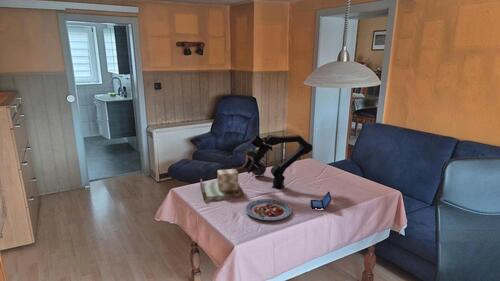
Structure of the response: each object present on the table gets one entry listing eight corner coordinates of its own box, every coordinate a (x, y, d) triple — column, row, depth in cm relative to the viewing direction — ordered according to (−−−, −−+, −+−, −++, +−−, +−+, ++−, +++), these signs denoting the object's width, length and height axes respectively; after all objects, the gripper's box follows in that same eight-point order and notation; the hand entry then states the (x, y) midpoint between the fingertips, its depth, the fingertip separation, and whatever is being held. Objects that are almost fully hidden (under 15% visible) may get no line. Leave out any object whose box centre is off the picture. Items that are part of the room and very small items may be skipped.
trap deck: (237, 183, 220) (237, 176, 219) (244, 197, 200) (244, 188, 198) (200, 186, 214) (200, 179, 213) (203, 200, 194) (203, 192, 192)
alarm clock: (266, 175, 237) (266, 154, 233) (265, 178, 232) (266, 156, 228) (251, 174, 238) (251, 153, 234) (250, 177, 233) (250, 155, 229)
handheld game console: (310, 201, 196) (311, 189, 194) (328, 202, 195) (329, 190, 193) (311, 210, 184) (312, 198, 182) (330, 211, 183) (331, 199, 181)
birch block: (235, 184, 212) (235, 168, 210) (238, 189, 205) (238, 173, 202) (217, 186, 210) (217, 170, 207) (219, 190, 202) (219, 174, 199)
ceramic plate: (272, 198, 199) (273, 194, 198) (300, 215, 178) (301, 210, 177) (236, 208, 185) (236, 203, 184) (262, 228, 164) (262, 222, 163)
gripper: (249, 140, 213) (234, 159, 214) (255, 148, 196) (239, 168, 197) (261, 150, 217) (247, 168, 218) (269, 158, 199) (253, 178, 200)
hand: (246, 170), depth 208 cm, fingers open, 9 cm apart
